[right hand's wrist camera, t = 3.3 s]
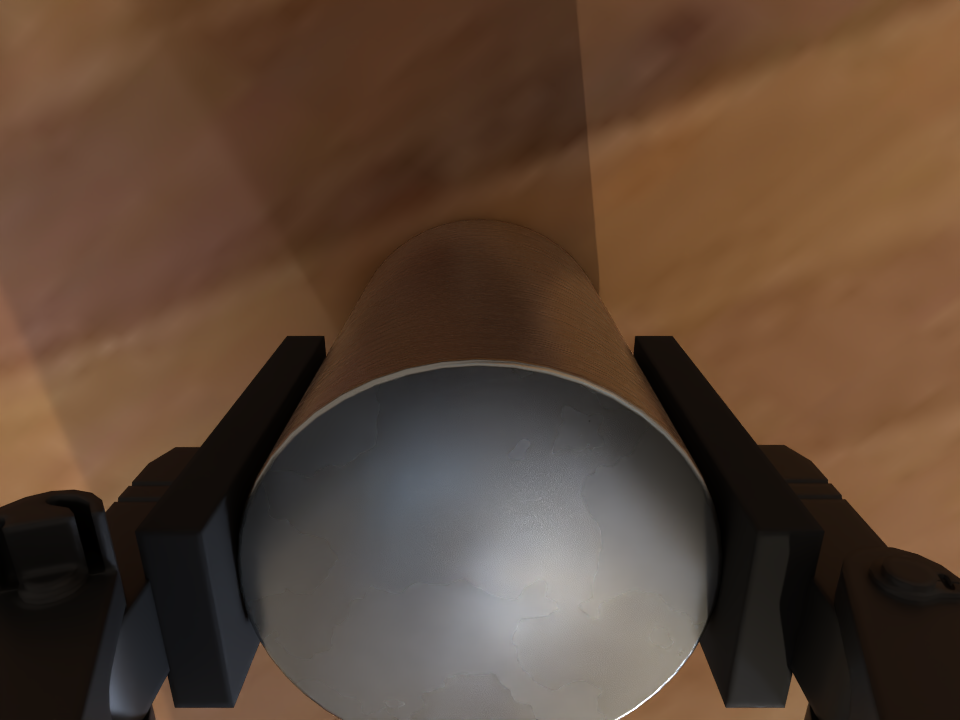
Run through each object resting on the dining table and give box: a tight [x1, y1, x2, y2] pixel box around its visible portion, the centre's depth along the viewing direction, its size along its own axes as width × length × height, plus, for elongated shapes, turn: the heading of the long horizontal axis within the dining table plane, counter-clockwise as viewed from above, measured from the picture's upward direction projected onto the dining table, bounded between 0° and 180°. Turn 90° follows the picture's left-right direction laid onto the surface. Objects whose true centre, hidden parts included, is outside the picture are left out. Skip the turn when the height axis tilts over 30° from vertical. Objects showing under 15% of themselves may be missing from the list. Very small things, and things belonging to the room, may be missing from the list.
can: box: [237, 220, 723, 720], centre depth 13 cm, size 6×6×9 cm
